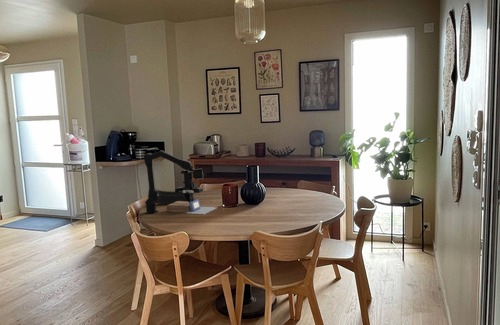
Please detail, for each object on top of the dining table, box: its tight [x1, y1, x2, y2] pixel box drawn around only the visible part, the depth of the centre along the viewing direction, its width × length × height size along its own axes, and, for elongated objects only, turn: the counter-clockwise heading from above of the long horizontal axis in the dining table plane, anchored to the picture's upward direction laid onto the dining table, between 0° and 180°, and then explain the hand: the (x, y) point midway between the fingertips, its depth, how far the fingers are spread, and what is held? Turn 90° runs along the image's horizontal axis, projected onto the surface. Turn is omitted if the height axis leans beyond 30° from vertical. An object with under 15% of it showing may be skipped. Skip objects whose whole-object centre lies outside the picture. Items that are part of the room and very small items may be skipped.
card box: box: [189, 198, 202, 211], centre depth 270 cm, size 9×6×2 cm
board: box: [166, 201, 191, 214], centre depth 275 cm, size 14×16×4 cm
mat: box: [186, 206, 218, 215], centre depth 269 cm, size 18×14×1 cm
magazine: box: [155, 188, 196, 205], centre depth 294 cm, size 17×3×30 cm
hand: (189, 202), depth 272 cm, fingers closed
